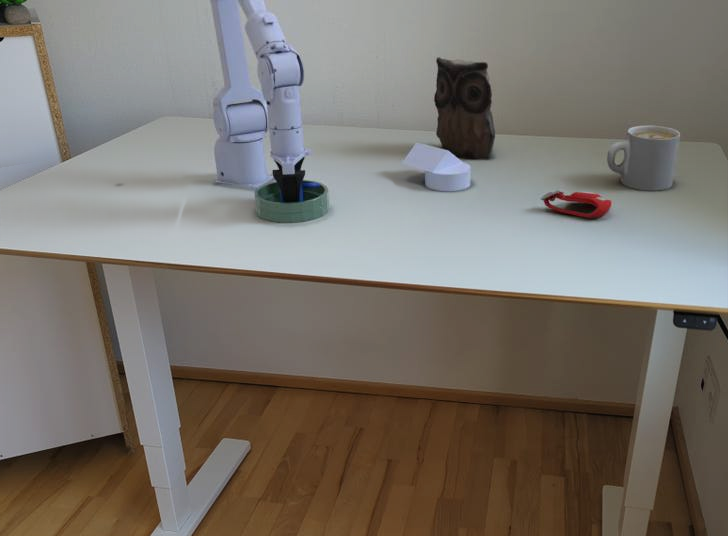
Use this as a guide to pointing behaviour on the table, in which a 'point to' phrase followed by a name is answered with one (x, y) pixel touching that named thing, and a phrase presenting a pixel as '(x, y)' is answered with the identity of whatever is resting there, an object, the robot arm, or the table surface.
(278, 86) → the robot arm
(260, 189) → the green plant saucer
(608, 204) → the tracker holder
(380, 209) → the table surface
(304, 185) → the scoop
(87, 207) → the table surface
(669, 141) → the coffee mug
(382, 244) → the table surface
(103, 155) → the table surface
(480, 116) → the owl
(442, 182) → the wedge on round base
